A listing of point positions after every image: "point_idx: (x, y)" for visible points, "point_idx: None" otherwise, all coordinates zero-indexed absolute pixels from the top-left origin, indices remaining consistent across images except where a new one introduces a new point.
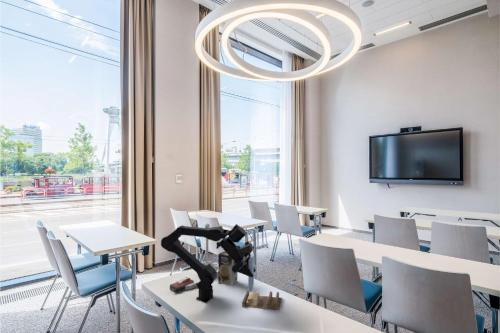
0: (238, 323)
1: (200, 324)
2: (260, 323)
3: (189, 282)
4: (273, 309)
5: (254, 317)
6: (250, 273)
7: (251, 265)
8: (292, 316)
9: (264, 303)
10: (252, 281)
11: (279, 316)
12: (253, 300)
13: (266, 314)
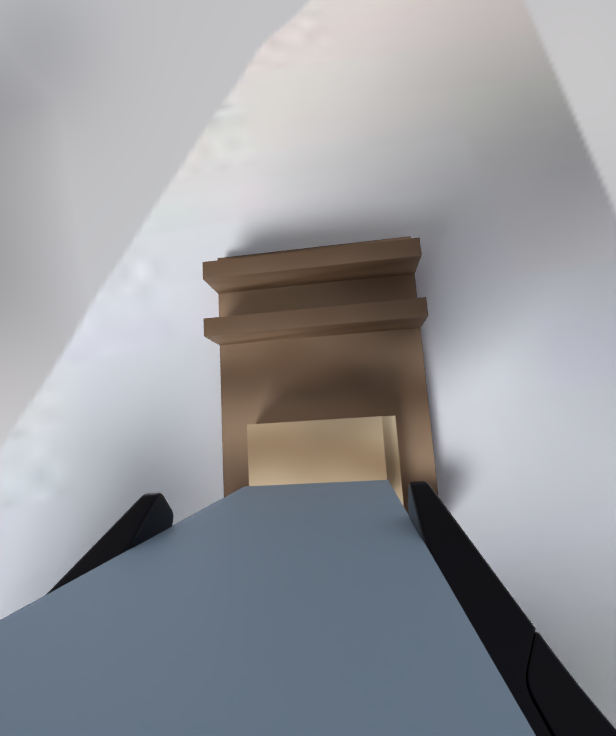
0: None
1: None
2: (601, 342)
3: None
4: (408, 283)
5: (536, 402)
6: (478, 562)
7: (478, 648)
8: (435, 158)
9: (338, 365)
10: (321, 498)
11: (462, 236)
12: (383, 449)
13: (465, 326)
